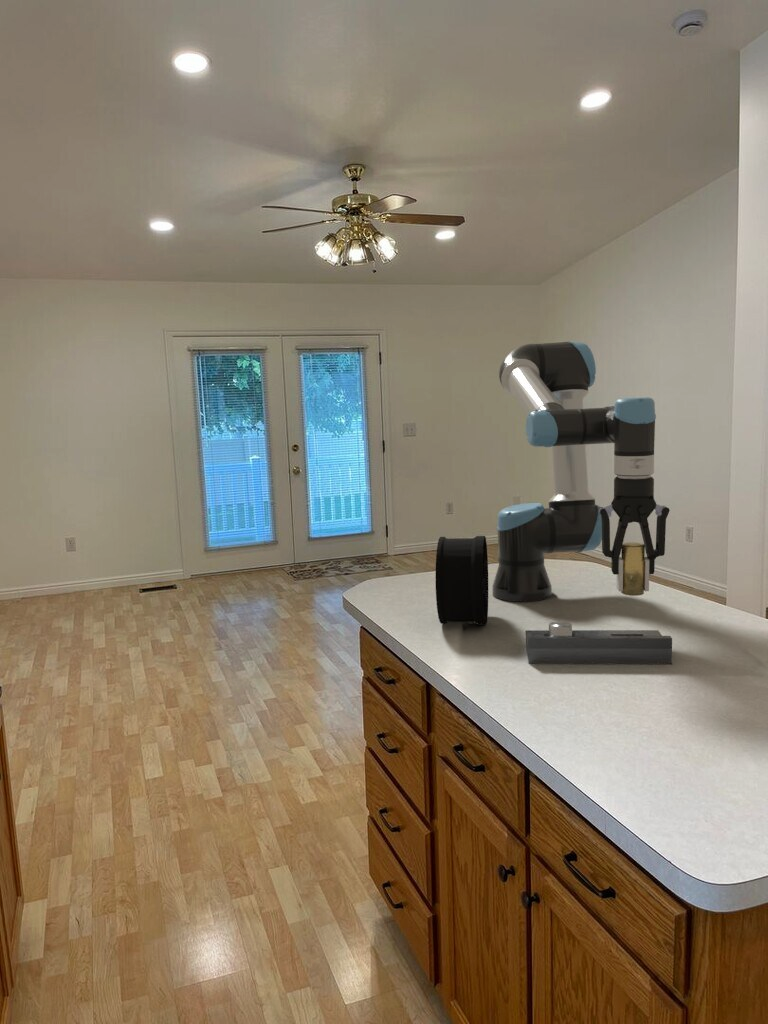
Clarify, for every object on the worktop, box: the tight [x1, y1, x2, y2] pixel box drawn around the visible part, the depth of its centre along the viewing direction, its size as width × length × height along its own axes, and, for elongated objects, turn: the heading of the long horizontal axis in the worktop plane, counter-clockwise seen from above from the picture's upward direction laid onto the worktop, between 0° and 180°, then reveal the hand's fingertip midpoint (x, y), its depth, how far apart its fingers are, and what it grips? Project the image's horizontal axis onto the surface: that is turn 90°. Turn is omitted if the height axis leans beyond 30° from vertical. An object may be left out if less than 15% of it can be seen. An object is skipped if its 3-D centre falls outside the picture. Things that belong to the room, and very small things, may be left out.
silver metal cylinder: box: [548, 620, 573, 636], centre depth 138 cm, size 4×4×6 cm
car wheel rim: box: [435, 535, 489, 625], centre depth 160 cm, size 20×10×20 cm, turn 168°
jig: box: [524, 629, 673, 665], centre depth 137 cm, size 11×26×5 cm, turn 81°
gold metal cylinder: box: [620, 542, 646, 597], centre depth 143 cm, size 4×4×10 cm
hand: (632, 589), depth 144 cm, fingers closed on gold metal cylinder, 4 cm apart
